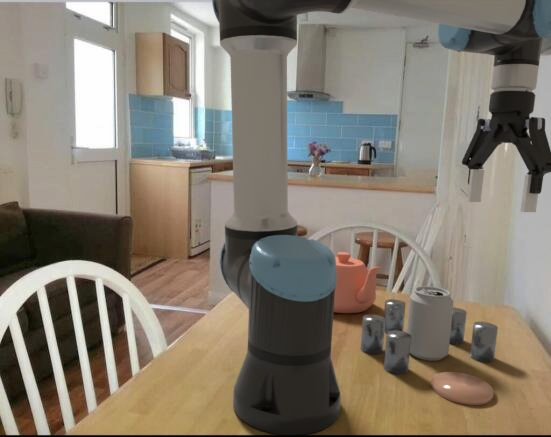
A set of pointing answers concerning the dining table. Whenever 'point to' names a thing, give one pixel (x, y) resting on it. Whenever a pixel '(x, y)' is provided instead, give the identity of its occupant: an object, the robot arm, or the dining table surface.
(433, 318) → the can
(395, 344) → the chrome peg cluster
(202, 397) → the dining table surface
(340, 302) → the teapot
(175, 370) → the dining table surface
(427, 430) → the dining table surface
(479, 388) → the pink flat disc
